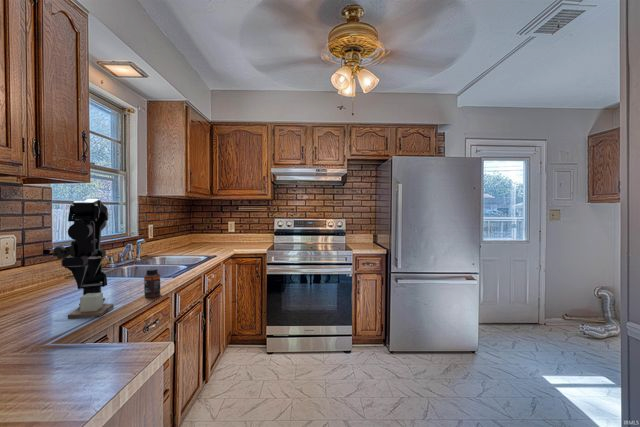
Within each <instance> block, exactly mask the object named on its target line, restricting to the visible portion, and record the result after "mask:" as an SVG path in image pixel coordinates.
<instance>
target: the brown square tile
mask: <svg viewBox="0 0 640 427" xmlns="http://www.w3.org/2000/svg"><path fill="white" fill-rule="evenodd" d="M112 307H113V308H115V306H114V303H103V307H101V308H100V309H99V310H97V311H87V312H80V307H78V308H76V309H75V310H73V311H72V312H70V313H68V314H67V319H79V318H78V317H84V318H93V317H92V316H101V317H102V315H103V314H104V313H105V314H107V313H108V312H109V311H110V310H112V309H113V308H112ZM111 308H112V309H111ZM109 309H110V310H109ZM108 310H109V311H108ZM107 311H108V312H107ZM105 314H104V315H105ZM104 315H103V316H104Z"/></svg>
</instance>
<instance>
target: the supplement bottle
mask: <svg viewBox="0 0 640 427" xmlns="http://www.w3.org/2000/svg"><path fill="white" fill-rule="evenodd" d="M143 282H144V284H143V288H144V290H143V291H144V293H143V294H144V297H145V298H146V299H147V298H149V299H151V298H156V297H159V296H160V295H161V274H160V273H159V272H158V268H156V267H155V268H153V267H151V268H147V269H146V274H145V275H144V276H143Z"/></svg>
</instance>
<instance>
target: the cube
mask: <svg viewBox="0 0 640 427" xmlns="http://www.w3.org/2000/svg"><path fill="white" fill-rule="evenodd" d="M103 298H104V293H103V292H101V293H87V294H85V295H84V296H83V295H82V296H80V297H79V304H80V305H79V308H80V312H87V311H97V310H99V309H100V308H101V307H103V304H104V300H103Z"/></svg>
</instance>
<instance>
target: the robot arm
mask: <svg viewBox="0 0 640 427" xmlns="http://www.w3.org/2000/svg"><path fill="white" fill-rule="evenodd" d="M67 216H68V218H67V221H68V222H69V223H71V222H73V224H71V225H70V226H69V227H68V229H67V235H68V237H69V238H70V239H71V240H72V241H71V244H70V245H68V246H65V247H64V246H62V245H59V246H56V247H54V248H53V252H52V253H53V254H52V255H53V257H56V258H57V260H61V262H60V263H61V265H60V266H61V267H63V268H65V269H67V270H69V271H70V272H71V273H72V275H73V278H74V280H75V283H76V285H77V290H80V289H82V296H84V295H85V294H87V293H102V288H103V287H106V286H108V277H107V274H106V271H105V270H104V269H103V266H102V263H103V260H105V258H106V256H107V252H106V250H105V249H104V248H101V239H102V231H103V230H104V228H106V227H107V221H109V209H108V207H107V206H105V205H104V204H103V203H102V200H101V199H99V198H87V199H85V200H84V201H81V200H80V201H78V200H77V201H76V200H74V201H73V202H72V203H71V204H70V205H69V209H68V215H67ZM105 300H106V298H105V297H103V301H105ZM78 305H79V306H80V303H78Z"/></svg>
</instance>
